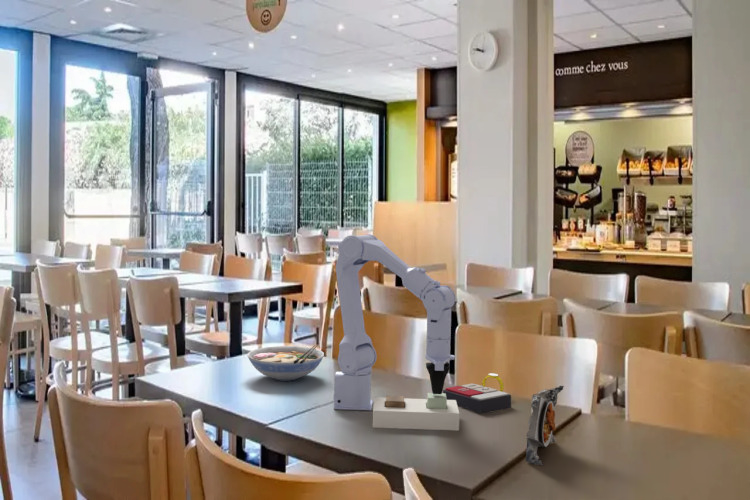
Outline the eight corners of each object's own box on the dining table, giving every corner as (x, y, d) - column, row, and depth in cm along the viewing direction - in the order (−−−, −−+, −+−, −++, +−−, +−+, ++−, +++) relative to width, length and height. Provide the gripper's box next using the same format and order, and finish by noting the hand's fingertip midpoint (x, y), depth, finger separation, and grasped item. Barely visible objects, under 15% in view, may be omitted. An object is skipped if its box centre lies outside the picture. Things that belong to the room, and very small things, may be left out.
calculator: (472, 381, 187) (511, 391, 174) (473, 397, 187) (512, 408, 175) (442, 387, 181) (480, 397, 168) (442, 403, 181) (480, 415, 168)
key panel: (372, 427, 156) (373, 410, 156) (374, 413, 167) (375, 397, 167) (459, 430, 155) (459, 413, 155) (455, 415, 166) (455, 400, 166)
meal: (546, 466, 135) (548, 402, 134) (525, 462, 137) (527, 399, 136) (561, 444, 148) (564, 385, 147) (542, 440, 150) (544, 382, 149)
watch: (503, 397, 185) (506, 376, 185) (499, 399, 183) (501, 378, 183) (484, 391, 189) (486, 371, 188) (479, 393, 187) (481, 372, 186)
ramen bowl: (261, 366, 214) (261, 340, 213) (331, 370, 211) (332, 344, 210) (234, 386, 189) (234, 358, 189) (313, 391, 186) (314, 362, 186)
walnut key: (385, 415, 159) (385, 400, 159) (385, 409, 164) (386, 395, 164) (403, 416, 159) (404, 401, 159) (403, 410, 164) (404, 396, 163)
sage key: (427, 412, 159) (428, 397, 159) (427, 406, 163) (427, 392, 163) (446, 413, 159) (446, 398, 158) (445, 407, 163) (445, 393, 163)
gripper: (457, 343, 152) (456, 402, 153) (453, 332, 167) (451, 386, 168) (426, 342, 153) (425, 401, 154) (424, 331, 167) (423, 385, 168)
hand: (437, 393), depth 161 cm, fingers closed
